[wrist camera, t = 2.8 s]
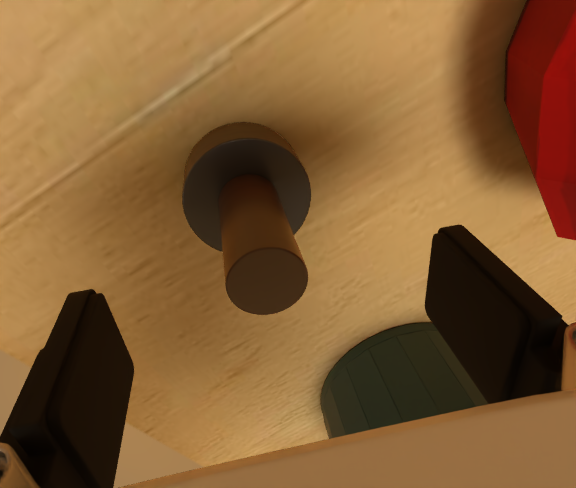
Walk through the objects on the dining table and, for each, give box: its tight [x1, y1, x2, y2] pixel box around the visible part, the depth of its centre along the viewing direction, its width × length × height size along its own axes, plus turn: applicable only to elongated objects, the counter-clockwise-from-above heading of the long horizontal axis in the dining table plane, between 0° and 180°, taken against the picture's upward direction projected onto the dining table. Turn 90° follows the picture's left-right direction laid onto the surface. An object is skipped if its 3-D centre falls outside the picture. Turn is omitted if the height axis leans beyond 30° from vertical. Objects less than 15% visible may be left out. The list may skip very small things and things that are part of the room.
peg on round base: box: [182, 122, 311, 315], centre depth 16 cm, size 6×6×8 cm
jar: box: [321, 323, 488, 439], centre depth 27 cm, size 12×12×8 cm
